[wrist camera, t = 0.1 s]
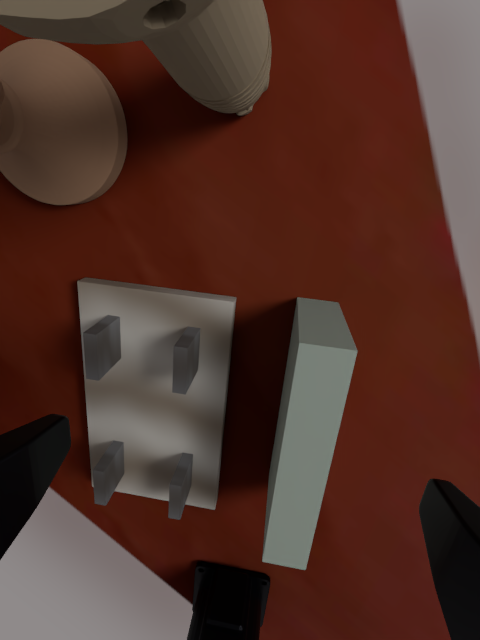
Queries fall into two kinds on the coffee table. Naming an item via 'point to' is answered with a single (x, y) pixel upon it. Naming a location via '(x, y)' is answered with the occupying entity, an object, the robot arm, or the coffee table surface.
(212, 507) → the cabinet panel
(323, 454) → the cabinet door
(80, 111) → the door knob
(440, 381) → the coffee table surface
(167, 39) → the handle
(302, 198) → the coffee table surface
